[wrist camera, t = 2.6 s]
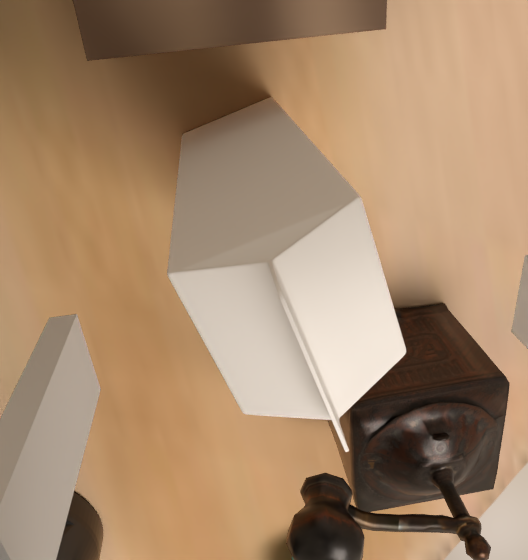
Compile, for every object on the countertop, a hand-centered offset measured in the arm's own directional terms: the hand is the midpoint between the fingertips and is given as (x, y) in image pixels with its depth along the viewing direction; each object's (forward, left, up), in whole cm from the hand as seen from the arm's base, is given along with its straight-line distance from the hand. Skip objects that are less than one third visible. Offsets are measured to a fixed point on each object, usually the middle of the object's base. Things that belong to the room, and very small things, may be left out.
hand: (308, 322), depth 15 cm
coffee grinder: (+7, -18, -20) cm, 28 cm away
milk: (0, 0, -20) cm, 20 cm away
